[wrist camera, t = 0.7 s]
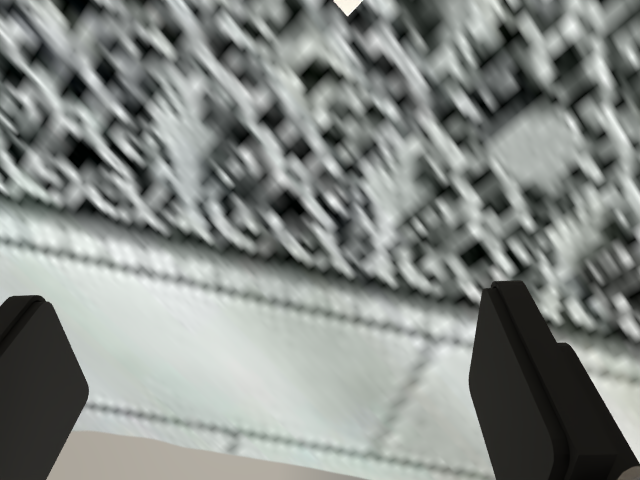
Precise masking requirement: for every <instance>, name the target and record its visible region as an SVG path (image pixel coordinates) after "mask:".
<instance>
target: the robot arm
mask: <svg viewBox="0 0 640 480" xmlns="http://www.w3.org/2000/svg"><path fill="white" fill-rule="evenodd" d="M469 389H470V394H471V397H472V401H473V404H474V407H475V410H476V414H477V417H478V420H479V424H480V427H481V430H482V434H483V437H484V440H485V444H486V447H487V450H488V454H489V457H490V460H491V464H492V467H493V470H494V474H495V477H496V480H640V464H639V462H638V460H637V458H636V457H635V455H634V453H633V451H632V450H631V448H630V446H629V445H628V443H627V441H626V439H625V438H624V436H623V434H622V432H621V431H620V429H619V427H618V426H617V424H616V422H615V420H614V419H613V417H612V415H611V413H610V412H609V410H608V408H607V407H606V405H605V403H604V401H603V400H602V398H601V396H600V394H599V393H598V391H597V389H596V387H595V386H594V384H593V382H592V381H591V379H590V377H589V375H588V374H587V372H586V370H585V368H584V367H583V365H582V363H581V362H580V360H579V358H578V356H577V355H576V353H575V351H574V350H573V349H572V347H571V346H570V345H569V344H567V343H557V342H556V340H555V338H554V337H553V335H552V333H551V331H550V329H549V327H548V326H547V324H546V322H545V320H544V318H543V317H542V315H541V313H540V311H539V309H538V307H537V306H536V304H535V302H534V300H533V298H532V296H531V295H530V293H529V291H528V289H527V287H526V285H525V284H524V283H523V281H494V282H493V283H492V284H491V288H485V289H483V291H482V296H481V302H480V308H479V315H478V321H477V327H476V334H475V340H474V347H473V353H472V359H471V366H470V372H469ZM88 394H89V387H88V384H87V381H86V379H85V377H84V375H83V372H82V370H81V368H80V366H79V363H78V361H77V359H76V357H75V354H74V352H73V350H72V348H71V345H70V343H69V341H68V339H67V336H66V334H65V332H64V330H63V327H62V325H61V323H60V321H59V319H58V316H57V314H56V312H55V310H54V307H53V306H52V304H51V303H50V302H46V301H45V299H44V298H43V297H42V296H39V295H28V296H12V297H9V298H8V299H7V300H5V302H4V303H3V304H2V305H1V306H0V480H46V479H47V477H48V475H49V473H50V471H51V469H52V467H53V465H54V463H55V461H56V459H57V457H58V456H59V453H60V452H61V450H62V448H63V446H64V444H65V442H66V440H67V438H68V436H69V434H70V432H71V431H72V429H73V427H74V425H75V423H76V421H77V419H78V417H79V415H80V413H81V411H82V409H83V407H84V405H85V404H86V401H87V399H88Z"/></svg>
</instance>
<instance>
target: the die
mask: <svg viewBox="0 0 640 480" xmlns="http://www.w3.org/2000/svg"><path fill="white" fill-rule="evenodd" d="M334 1H335V3H336V4H337V5H338V6H339V7H340V8H341V9H342V11H343V12H344V13H345V14H346V15H347V16H348V15H349V14H350V13H351V12H352V11H353V10H354V9H355V8H356V7H357V6H358V5H359V4H360V3H361V2H362V1H363V0H334Z"/></svg>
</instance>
